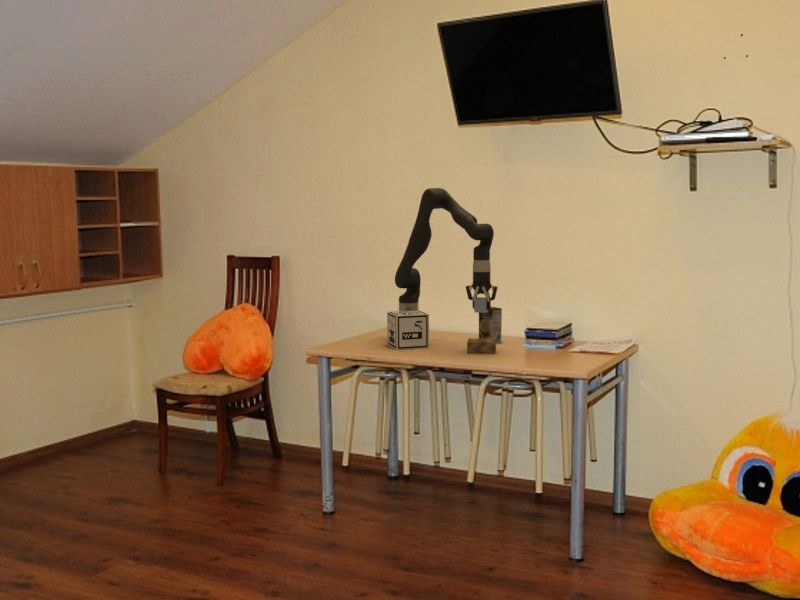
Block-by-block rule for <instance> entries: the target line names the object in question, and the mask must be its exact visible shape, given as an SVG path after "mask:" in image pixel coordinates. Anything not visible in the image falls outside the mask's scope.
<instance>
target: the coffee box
mask: <svg viewBox="0 0 800 600" xmlns="http://www.w3.org/2000/svg"><path fill="white" fill-rule="evenodd" d="M502 309H503V308H501V307H495V306H491V308H490V309H489V311H488V312H486V313H478V338H481V339H496V344H501V343H502V319H503V318H502V316H503V315H502V314H503V313H502V311H503V310H502Z"/></svg>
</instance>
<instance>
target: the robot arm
mask: <svg viewBox="0 0 800 600" xmlns="http://www.w3.org/2000/svg"><path fill="white" fill-rule="evenodd" d="M437 209H442V210H444V211H447V212H449V213H450V215H451V218H452V220H453V221H454V223H456V224H457V225H458V226H459V227H460V228H462V229H463V230H464V231H465V233H466V234H467V235H468V236H469V237H470V239H472V240H475V241H479V243H478V245H476V246H475V247H473V252H472V253H473V254H472V255H473V261H472V262H473V263H472V284H471V285H466V286H465V289H466V294H467V299H468V300H470V301H471V302H472V309H474V298H477V297H479V295H484V297H486V298H487V310H489V309H490V308H491V307H492V306H491V305H492V303H491V301H494V300H495V299H496V295H497V292H498V288H499V287H498V286H497V285H492V282H491V270H492V268H491V249H492V244H493V240H494V235H495V234H494V232H495V231H494V228H493V226H492V225H491V224H490V223H478V219H477V218H476V216H474V215H473V214H471V213H470V212H469V211H468V210H466V209H465V208H464V207H462V206H461V205H460V204H459V203H458V202H457V201H456V200H455V199H454V198H453V196H452V195H451V194H450V193H449V192H448V191H447V190H446V189H444V188H442V187H434V188H433V187H431V188H426V189H425V190H424V191H423V193H422V195H421V198H420V202H419V208H418V212H417V215H416V219H415V222H414V225H413V228H412V231H411V234H410V237H409V239H408V243H407V246H406V249H405V252H404V254H403V257H402V258H401V261H400V263H399V265H398V267H397V269H396V271H395V276H394V284H395V285H396V287H397V288H399V289H406V290H405V292H404V293H403V294H401V295H400V296H399V297H398V311H418V310H419V311H420V309H419V298H420V295H421V274H420V271H419V270H418V269H417V268H415V267H414V265H415V263H416V262H417V261H418V260H420V258H421V257H422V256H423V255H424V254H425V252H427V249H428V247H429V245H430V243H431V239H432V228H431V223H430V220H431V216H432V213H433V210H437ZM472 289H473V291H474V293H473V294H472ZM490 289H491V291H492V293H491V294H490ZM490 295H491V296H490Z"/></svg>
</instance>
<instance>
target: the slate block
mask: <svg viewBox="0 0 800 600" xmlns="http://www.w3.org/2000/svg"><path fill="white" fill-rule="evenodd" d="M473 311H474V313H477V314H479V313H486V312H488V311H489V310H487V298H486V297H485V296H484V297H483V296H481V297H479V296H477V298H474V308H473Z"/></svg>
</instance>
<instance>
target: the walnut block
mask: <svg viewBox="0 0 800 600" xmlns="http://www.w3.org/2000/svg"><path fill="white" fill-rule="evenodd" d="M496 351H497V343H496V339H481V338H479V337H476V338H475V337H473V338H468V339H467V342H466V353H467V354H468V355H469V354H473V355H474V354H477V355H478V354H482V355H484V354H485V355H491V354H493V355H495V354H496V353H497V352H496Z"/></svg>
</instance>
